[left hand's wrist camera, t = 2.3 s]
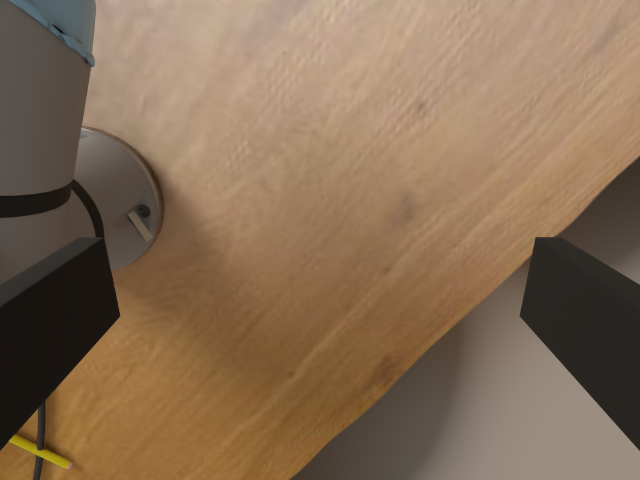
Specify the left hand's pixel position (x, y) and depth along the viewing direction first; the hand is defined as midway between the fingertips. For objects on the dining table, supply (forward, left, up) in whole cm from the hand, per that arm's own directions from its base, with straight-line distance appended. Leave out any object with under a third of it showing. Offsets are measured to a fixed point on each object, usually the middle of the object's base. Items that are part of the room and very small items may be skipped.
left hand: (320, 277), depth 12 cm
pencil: (-56, -1, -30) cm, 63 cm away
